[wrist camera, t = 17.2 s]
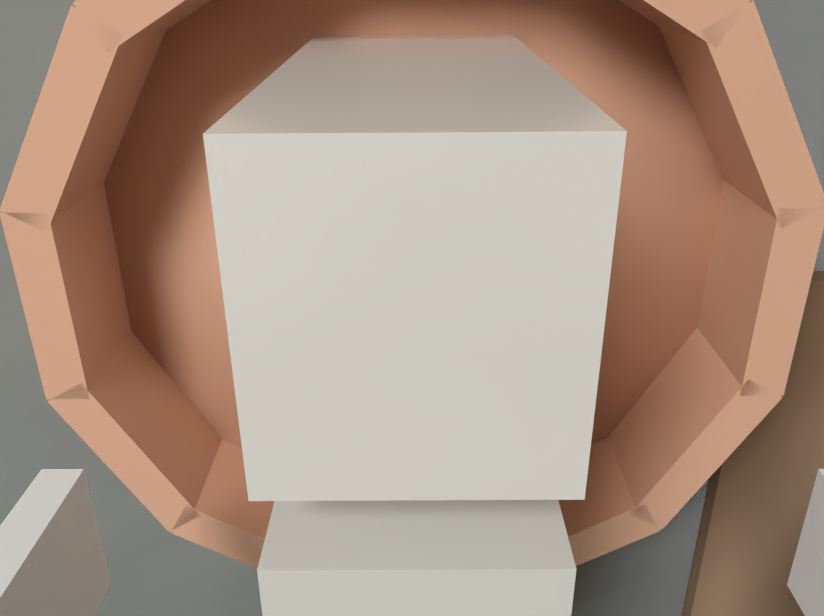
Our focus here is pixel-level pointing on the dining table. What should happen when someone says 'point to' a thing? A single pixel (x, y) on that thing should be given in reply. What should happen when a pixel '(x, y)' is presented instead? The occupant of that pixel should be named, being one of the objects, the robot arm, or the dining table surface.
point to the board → (765, 493)
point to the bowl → (199, 266)
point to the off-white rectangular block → (417, 559)
